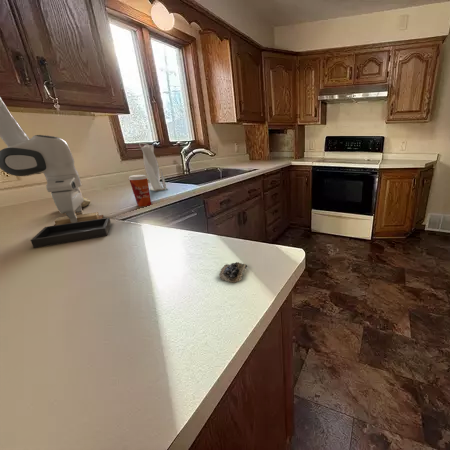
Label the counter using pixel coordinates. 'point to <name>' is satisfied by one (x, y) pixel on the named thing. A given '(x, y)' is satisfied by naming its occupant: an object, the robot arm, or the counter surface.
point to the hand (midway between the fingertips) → (77, 218)
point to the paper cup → (140, 189)
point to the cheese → (85, 202)
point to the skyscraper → (152, 168)
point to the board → (77, 218)
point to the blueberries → (232, 272)
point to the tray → (71, 232)
